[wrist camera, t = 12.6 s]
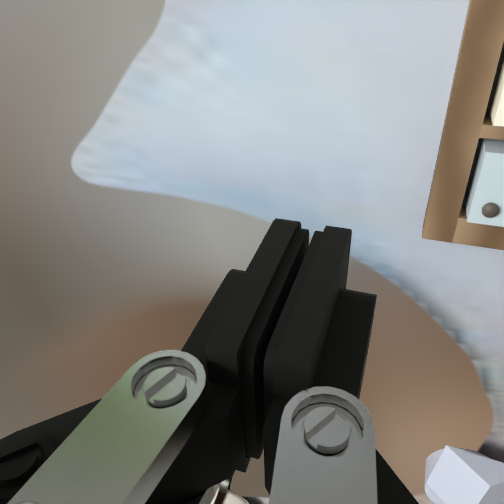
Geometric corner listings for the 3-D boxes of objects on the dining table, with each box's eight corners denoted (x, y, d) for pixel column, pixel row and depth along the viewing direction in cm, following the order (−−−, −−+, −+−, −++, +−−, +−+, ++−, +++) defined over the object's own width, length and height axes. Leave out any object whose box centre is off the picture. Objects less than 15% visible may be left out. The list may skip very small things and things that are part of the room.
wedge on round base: (446, 420, 57) (417, 476, 65) (446, 472, 52) (415, 526, 59) (528, 445, 55) (488, 499, 63) (536, 501, 50) (491, 553, 57)
